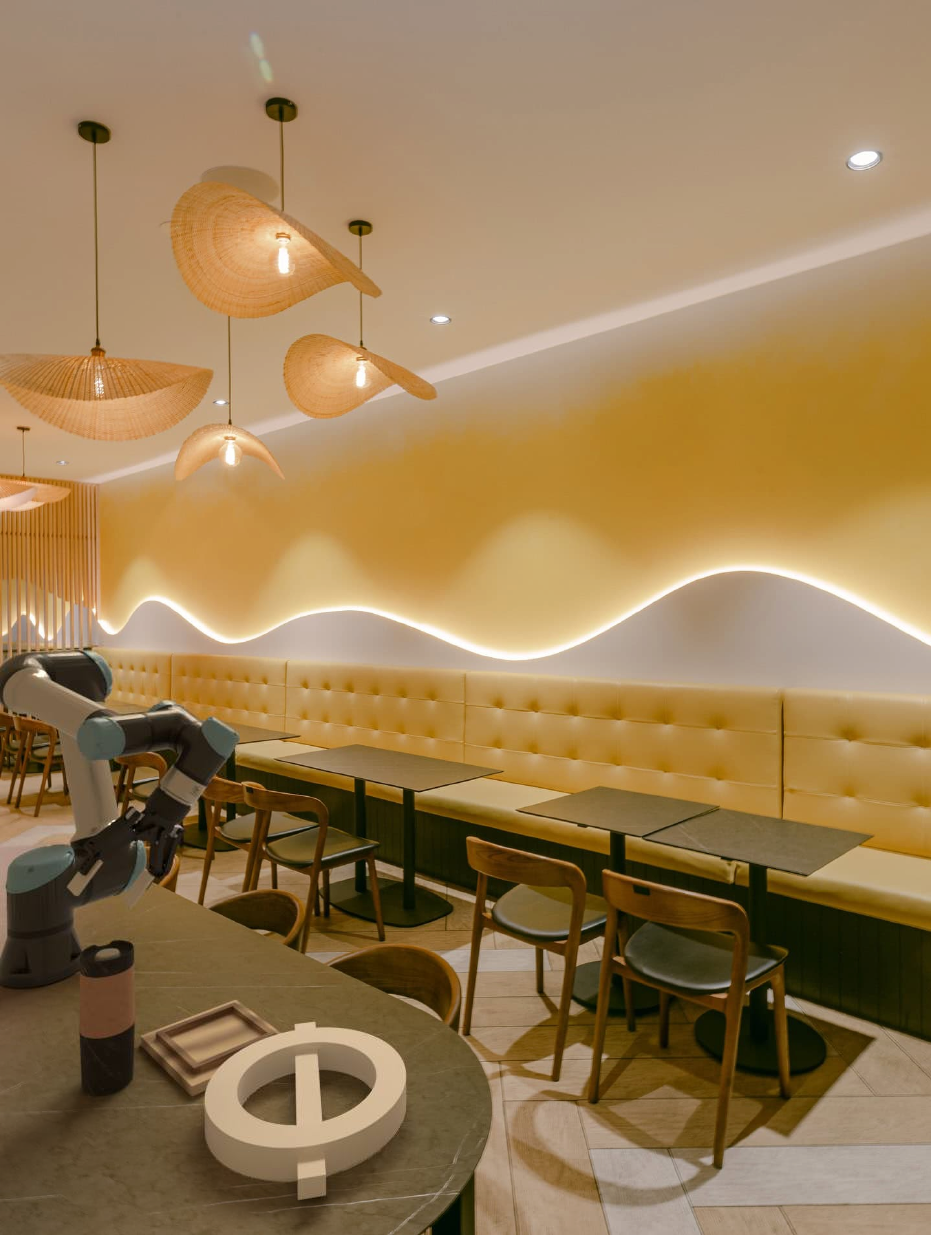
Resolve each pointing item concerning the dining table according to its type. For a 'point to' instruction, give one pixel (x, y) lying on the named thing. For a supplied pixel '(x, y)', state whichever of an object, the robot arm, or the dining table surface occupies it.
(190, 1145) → the dining table surface
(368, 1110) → the ring with crossbar
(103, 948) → the travel mug
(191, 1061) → the board
